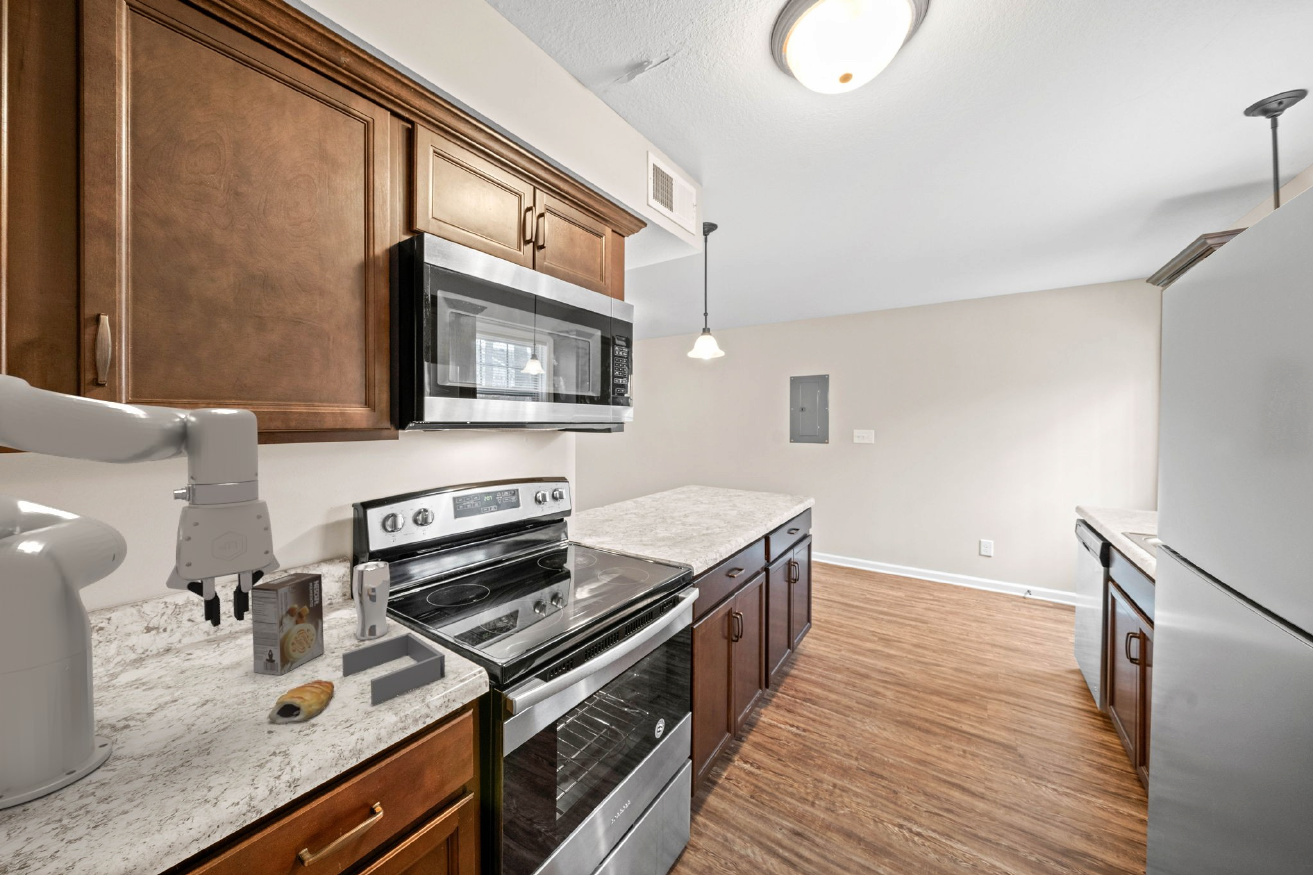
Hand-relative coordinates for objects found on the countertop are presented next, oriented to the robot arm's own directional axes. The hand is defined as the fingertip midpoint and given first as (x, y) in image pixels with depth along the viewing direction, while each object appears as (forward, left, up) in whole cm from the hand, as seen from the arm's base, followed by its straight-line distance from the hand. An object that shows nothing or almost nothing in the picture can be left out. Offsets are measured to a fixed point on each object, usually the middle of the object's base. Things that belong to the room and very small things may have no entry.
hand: (227, 620), depth 70 cm
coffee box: (+12, +20, -17) cm, 29 cm away
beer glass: (+27, +22, -17) cm, 39 cm away
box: (+22, 0, -17) cm, 28 cm away
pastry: (+9, 0, -18) cm, 20 cm away
